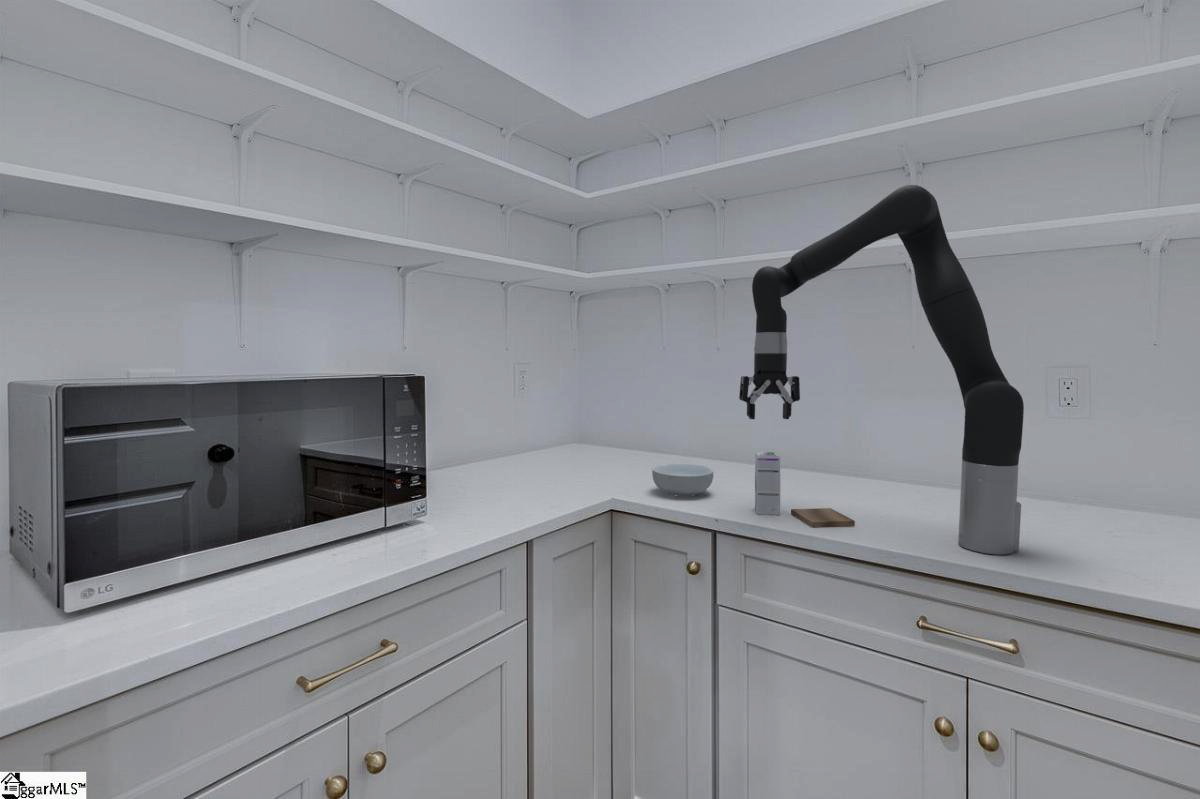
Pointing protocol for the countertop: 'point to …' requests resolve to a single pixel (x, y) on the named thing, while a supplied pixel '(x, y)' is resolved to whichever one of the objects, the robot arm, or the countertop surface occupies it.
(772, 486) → the syrup box
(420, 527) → the countertop surface
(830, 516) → the walnut board
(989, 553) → the robot arm
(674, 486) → the cereal bowl
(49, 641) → the countertop surface
